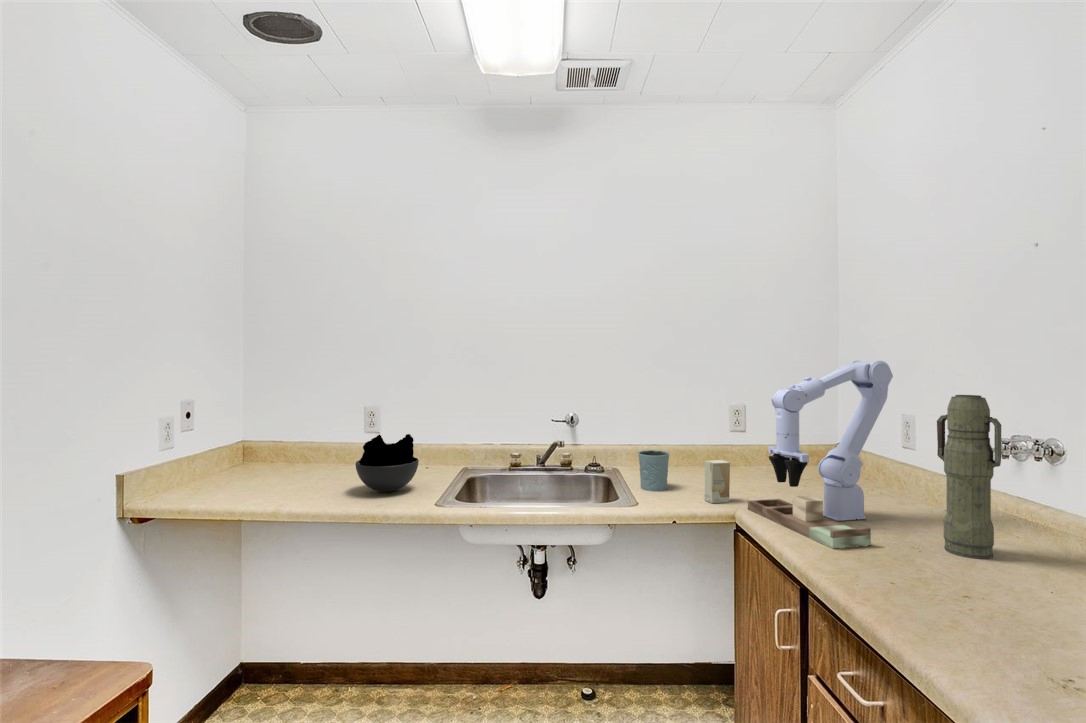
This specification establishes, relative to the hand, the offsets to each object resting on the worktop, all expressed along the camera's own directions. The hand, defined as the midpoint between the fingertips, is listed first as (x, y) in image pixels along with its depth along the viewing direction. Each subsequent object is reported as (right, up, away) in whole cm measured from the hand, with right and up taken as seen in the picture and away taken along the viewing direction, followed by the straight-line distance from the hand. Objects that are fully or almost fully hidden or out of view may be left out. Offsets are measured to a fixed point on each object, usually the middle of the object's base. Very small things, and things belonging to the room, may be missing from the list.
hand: (787, 484), depth 149 cm
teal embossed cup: (-29, -10, +36) cm, 47 cm away
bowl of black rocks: (-117, -10, +33) cm, 122 cm away
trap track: (+1, -9, -6) cm, 11 cm away
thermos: (+29, -10, -26) cm, 40 cm away
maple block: (+2, -7, -8) cm, 11 cm away
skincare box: (-13, -10, +19) cm, 25 cm away
